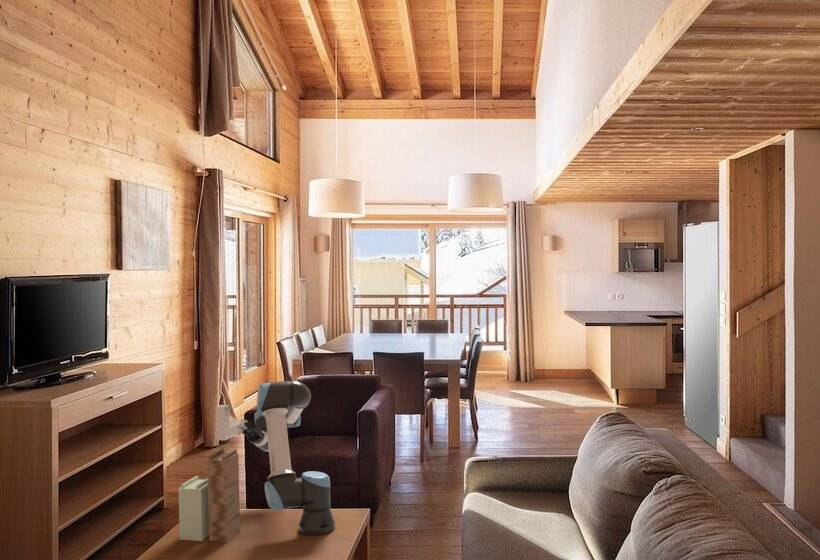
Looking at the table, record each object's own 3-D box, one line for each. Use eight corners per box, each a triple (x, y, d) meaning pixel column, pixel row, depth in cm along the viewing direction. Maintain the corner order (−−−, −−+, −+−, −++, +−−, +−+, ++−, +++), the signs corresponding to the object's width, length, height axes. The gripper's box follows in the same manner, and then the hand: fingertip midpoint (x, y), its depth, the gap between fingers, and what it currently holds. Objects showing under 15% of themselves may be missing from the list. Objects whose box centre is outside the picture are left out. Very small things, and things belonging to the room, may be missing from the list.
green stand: (216, 529, 275) (215, 476, 275) (202, 541, 263) (200, 485, 263) (195, 528, 277) (193, 475, 277) (179, 539, 265) (178, 484, 265)
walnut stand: (240, 531, 272) (238, 449, 272) (227, 542, 261) (225, 456, 261) (222, 530, 274) (220, 448, 274) (209, 540, 263) (207, 456, 263)
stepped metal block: (239, 428, 292) (238, 397, 292) (247, 428, 292) (246, 397, 291) (216, 440, 273) (216, 406, 273) (225, 440, 272) (224, 407, 272)
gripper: (272, 444, 302) (252, 430, 282) (238, 443, 305) (216, 429, 285) (275, 428, 305) (255, 413, 285) (242, 427, 309) (220, 412, 289)
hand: (236, 421), depth 285 cm, fingers closed on stepped metal block, 4 cm apart
